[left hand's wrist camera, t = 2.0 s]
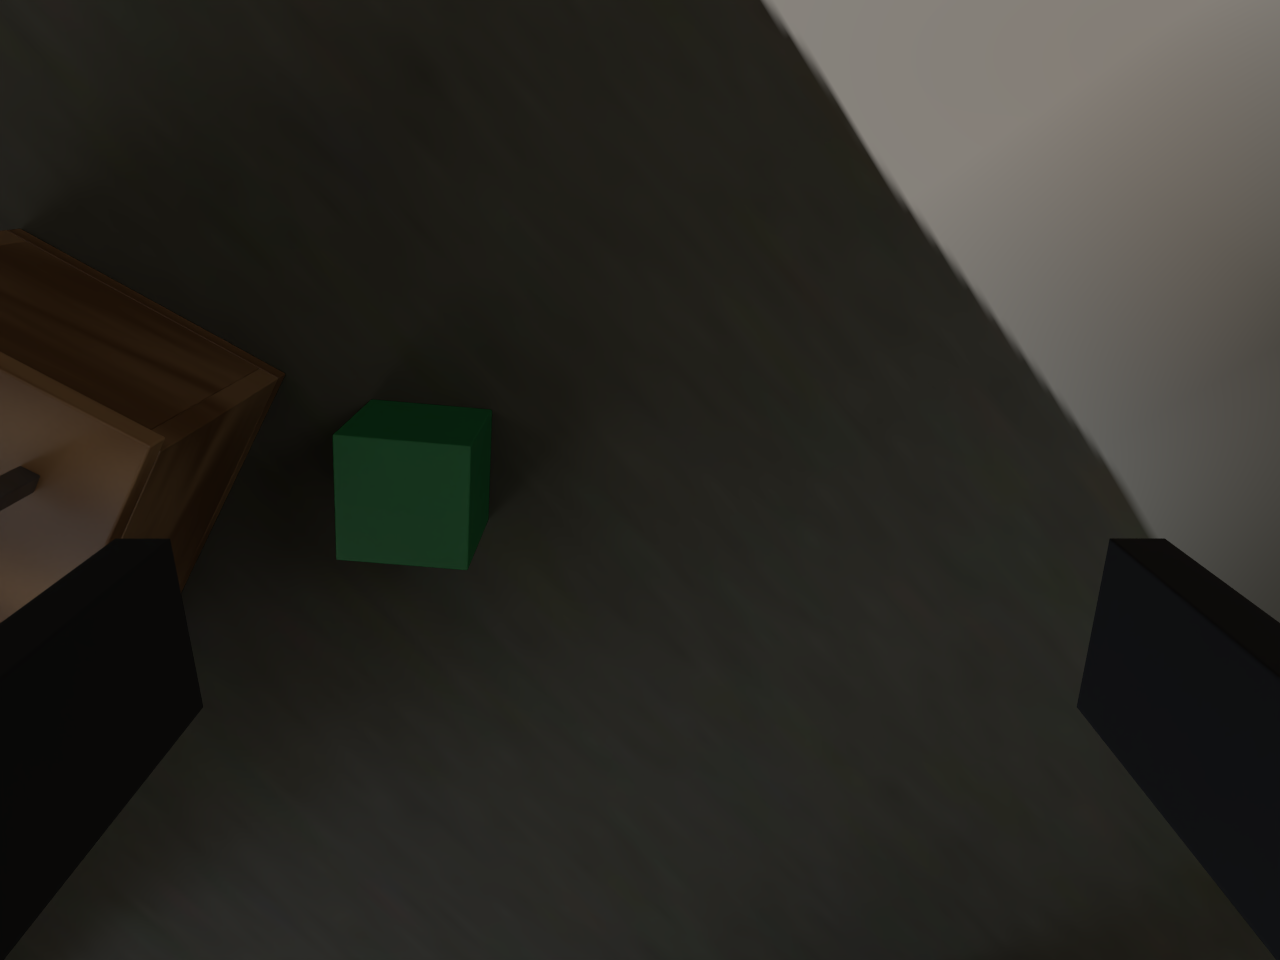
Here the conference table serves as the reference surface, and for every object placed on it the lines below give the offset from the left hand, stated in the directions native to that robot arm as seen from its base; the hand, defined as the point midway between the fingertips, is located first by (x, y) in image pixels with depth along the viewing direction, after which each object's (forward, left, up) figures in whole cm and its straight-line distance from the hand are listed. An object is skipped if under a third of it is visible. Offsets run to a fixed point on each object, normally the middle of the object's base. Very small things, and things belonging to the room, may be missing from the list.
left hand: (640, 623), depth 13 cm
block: (-7, +10, -28) cm, 30 cm away
